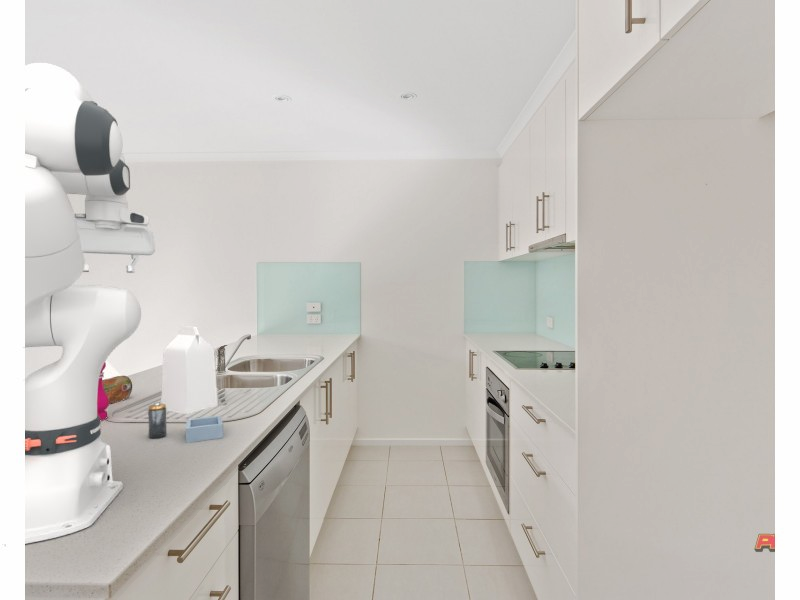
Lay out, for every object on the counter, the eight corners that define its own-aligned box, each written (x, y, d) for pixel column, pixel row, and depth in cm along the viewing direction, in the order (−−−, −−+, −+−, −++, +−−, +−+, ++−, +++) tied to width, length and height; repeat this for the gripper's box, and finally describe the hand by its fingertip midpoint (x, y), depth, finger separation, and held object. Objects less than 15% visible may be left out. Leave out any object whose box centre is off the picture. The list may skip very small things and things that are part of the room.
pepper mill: (94, 424, 125) (92, 353, 124) (72, 422, 126) (71, 352, 125) (115, 416, 132) (114, 349, 131) (94, 415, 133) (93, 348, 132)
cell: (166, 437, 113) (165, 404, 113) (148, 439, 112) (147, 406, 111) (167, 433, 117) (166, 400, 117) (149, 435, 115) (149, 402, 115)
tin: (94, 409, 140) (93, 382, 139) (86, 408, 140) (85, 382, 140) (133, 397, 154) (133, 373, 154) (125, 397, 155) (125, 373, 155)
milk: (160, 409, 139) (159, 327, 138) (192, 401, 150) (191, 324, 149) (187, 414, 134) (185, 328, 133) (217, 405, 144) (216, 325, 144)
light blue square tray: (222, 437, 113) (222, 424, 113) (185, 442, 110) (185, 428, 110) (221, 428, 121) (221, 415, 121) (186, 432, 117) (186, 419, 117)
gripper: (53, 209, 99) (55, 271, 100) (156, 218, 112) (157, 272, 113) (52, 212, 104) (53, 271, 104) (150, 221, 117) (151, 273, 118)
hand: (108, 272), depth 109 cm, fingers open, 8 cm apart
